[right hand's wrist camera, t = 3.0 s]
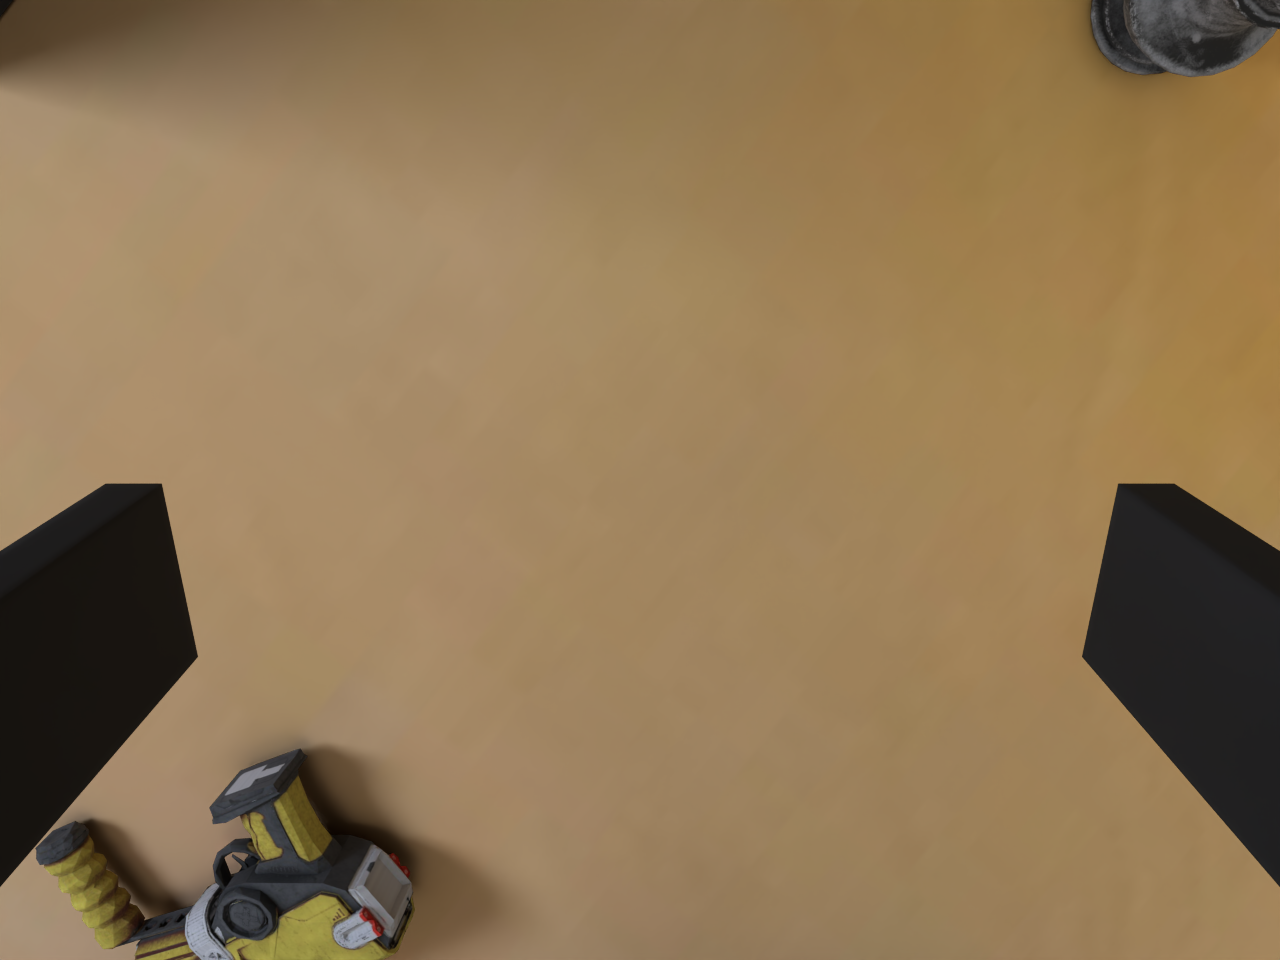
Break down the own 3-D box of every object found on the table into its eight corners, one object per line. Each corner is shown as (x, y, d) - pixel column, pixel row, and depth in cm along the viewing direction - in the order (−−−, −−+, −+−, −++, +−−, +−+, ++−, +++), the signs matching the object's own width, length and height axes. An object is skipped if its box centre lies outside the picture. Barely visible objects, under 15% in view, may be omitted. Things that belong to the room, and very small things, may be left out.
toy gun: (-95, 935, 48) (94, 1114, 51) (217, 742, 42) (410, 958, 45) (-25, 872, 52) (145, 1040, 55) (266, 689, 46) (438, 889, 49)
